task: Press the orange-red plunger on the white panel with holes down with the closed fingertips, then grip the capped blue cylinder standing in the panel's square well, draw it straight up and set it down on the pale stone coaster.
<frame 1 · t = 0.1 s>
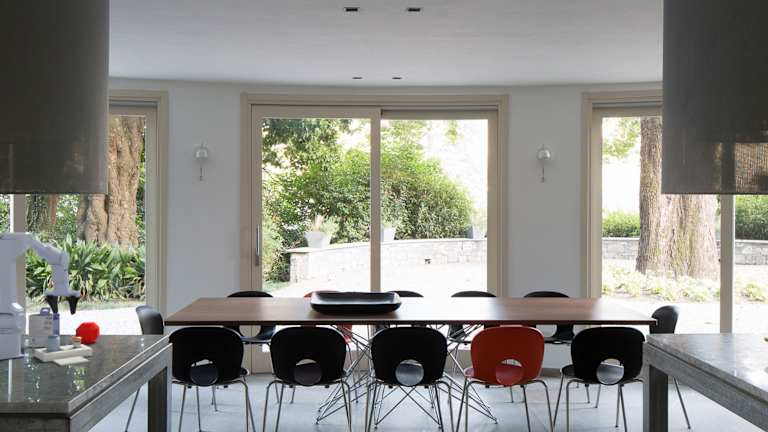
hand: (64, 313, 286), 11 cm above the counter, tool pointing down, fingers open, 7 cm apart
ball: (87, 342, 282), on the counter
capped blue cylinder: (53, 357, 254), resting in white panel with holes
white panel with holes: (63, 356, 256), on the counter
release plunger: (76, 343, 259), point 4 cm above the counter, slide at 0.0 cm
stone coaster: (70, 361, 246), on the counter
ink cartridge box: (44, 346, 274), on the counter
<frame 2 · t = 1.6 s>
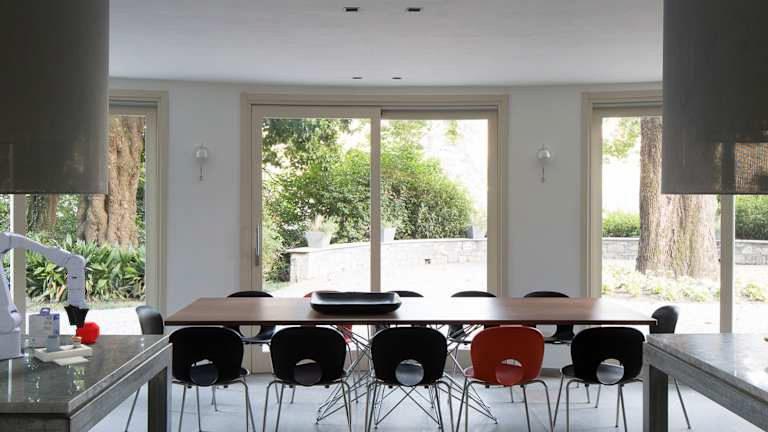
hand: (76, 326, 259), 10 cm above the counter, tool pointing down, fingers open, 7 cm apart
nothing on the counter moved.
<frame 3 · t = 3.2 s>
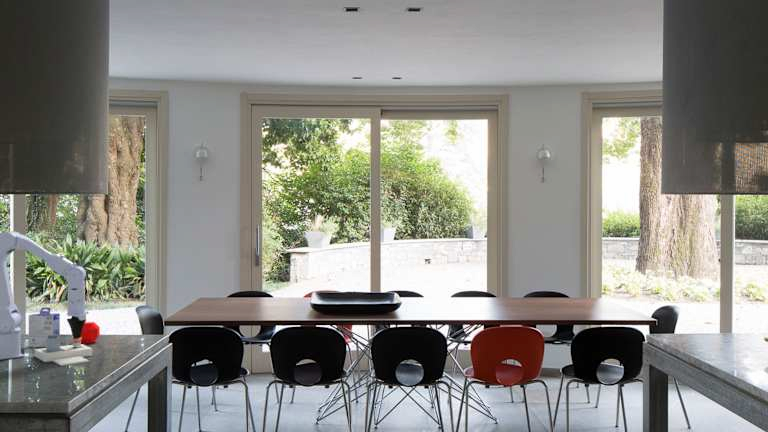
hand: (76, 338, 259), 6 cm above the counter, tool pointing down, fingers closed, pressing on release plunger
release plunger: (76, 344, 259), point 4 cm above the counter, slide at 0.1 cm, touching gripper
everything else where it was.
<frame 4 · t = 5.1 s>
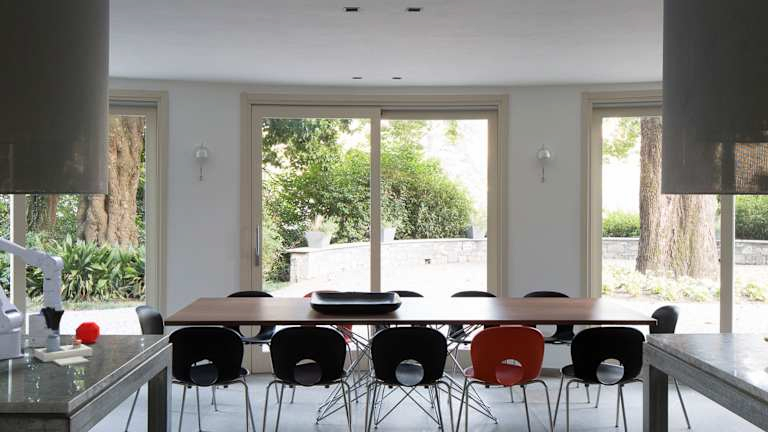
hand: (52, 329, 254), 10 cm above the counter, tool pointing down, fingers open, 4 cm apart
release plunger: (76, 346, 259), point 3 cm above the counter, slide at 1.0 cm
everything else where it was.
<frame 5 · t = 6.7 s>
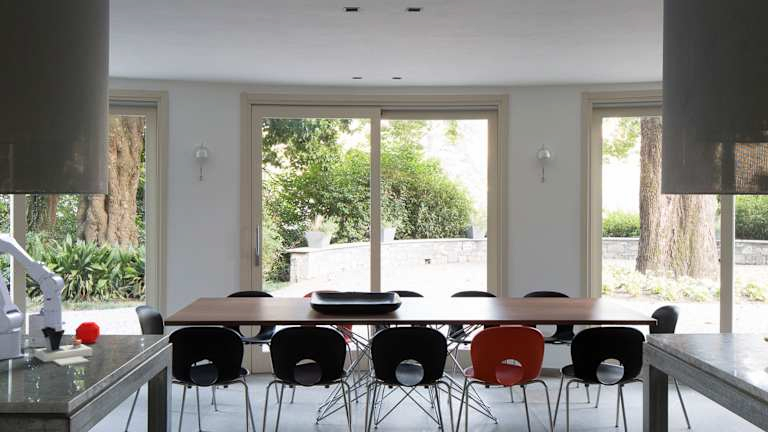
hand: (53, 349, 254), 3 cm above the counter, tool pointing down, fingers closed on capped blue cylinder, 4 cm apart
capped blue cylinder: (53, 357, 254), resting in white panel with holes, touching gripper
everything else where it was.
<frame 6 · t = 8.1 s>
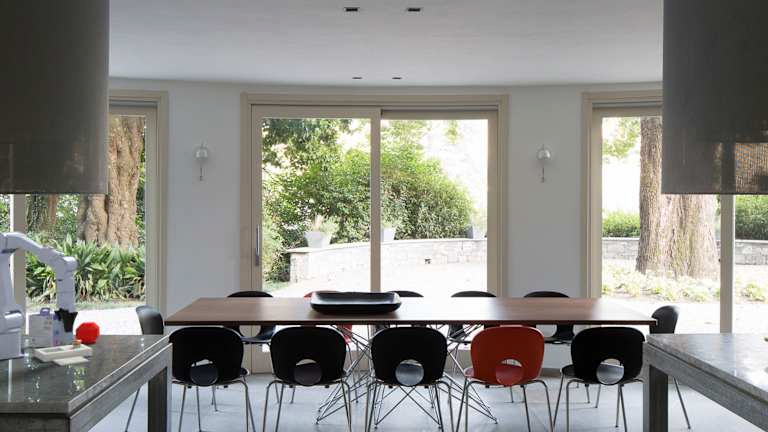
hand: (66, 331, 248), 10 cm above the counter, tool pointing down, fingers closed on capped blue cylinder, 4 cm apart
capped blue cylinder: (66, 341, 248), point 7 cm above the counter, touching gripper
everything else where it was.
when the fingers open (5 cm above the counter, at t = 9.7 s): capped blue cylinder stays where it is, resting on stone coaster.
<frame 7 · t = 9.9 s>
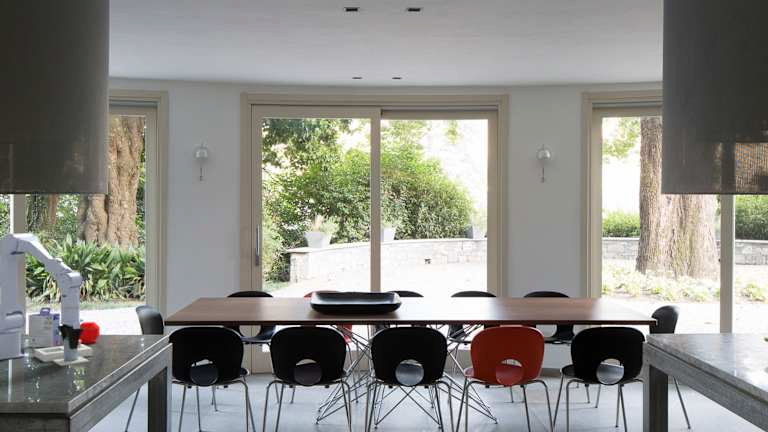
hand: (70, 347, 246), 5 cm above the counter, tool pointing down, fingers open, 6 cm apart
capped blue cylinder: (70, 360, 246), point 1 cm above the counter, touching stone coaster
everything else where it was.
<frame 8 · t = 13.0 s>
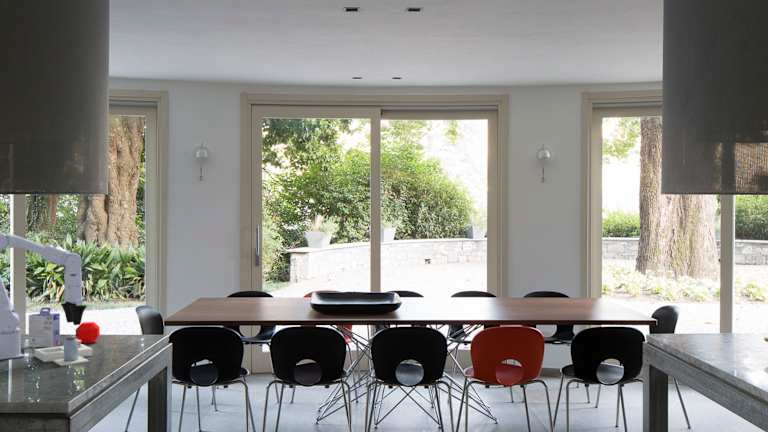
hand: (73, 323, 263), 10 cm above the counter, tool pointing down, fingers open, 7 cm apart
nothing on the counter moved.
at the end: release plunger slide at 1.0 cm; capped blue cylinder inside the target area on the stone coaster (0.1 cm from its centre), point 0.6 cm above the stone coaster's base; capped blue cylinder tilted 1° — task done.
